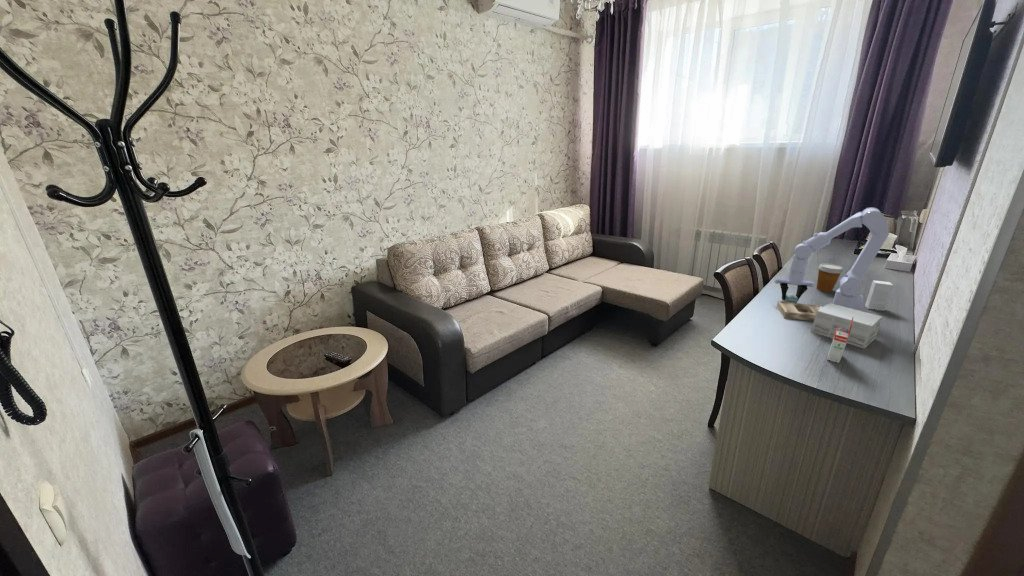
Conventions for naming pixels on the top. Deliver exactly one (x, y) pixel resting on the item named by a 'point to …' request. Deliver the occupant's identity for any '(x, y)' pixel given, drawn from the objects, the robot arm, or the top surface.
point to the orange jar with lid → (828, 276)
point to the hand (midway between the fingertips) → (789, 299)
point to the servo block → (790, 298)
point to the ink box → (839, 343)
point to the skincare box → (879, 295)
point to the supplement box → (847, 324)
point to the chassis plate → (798, 310)
